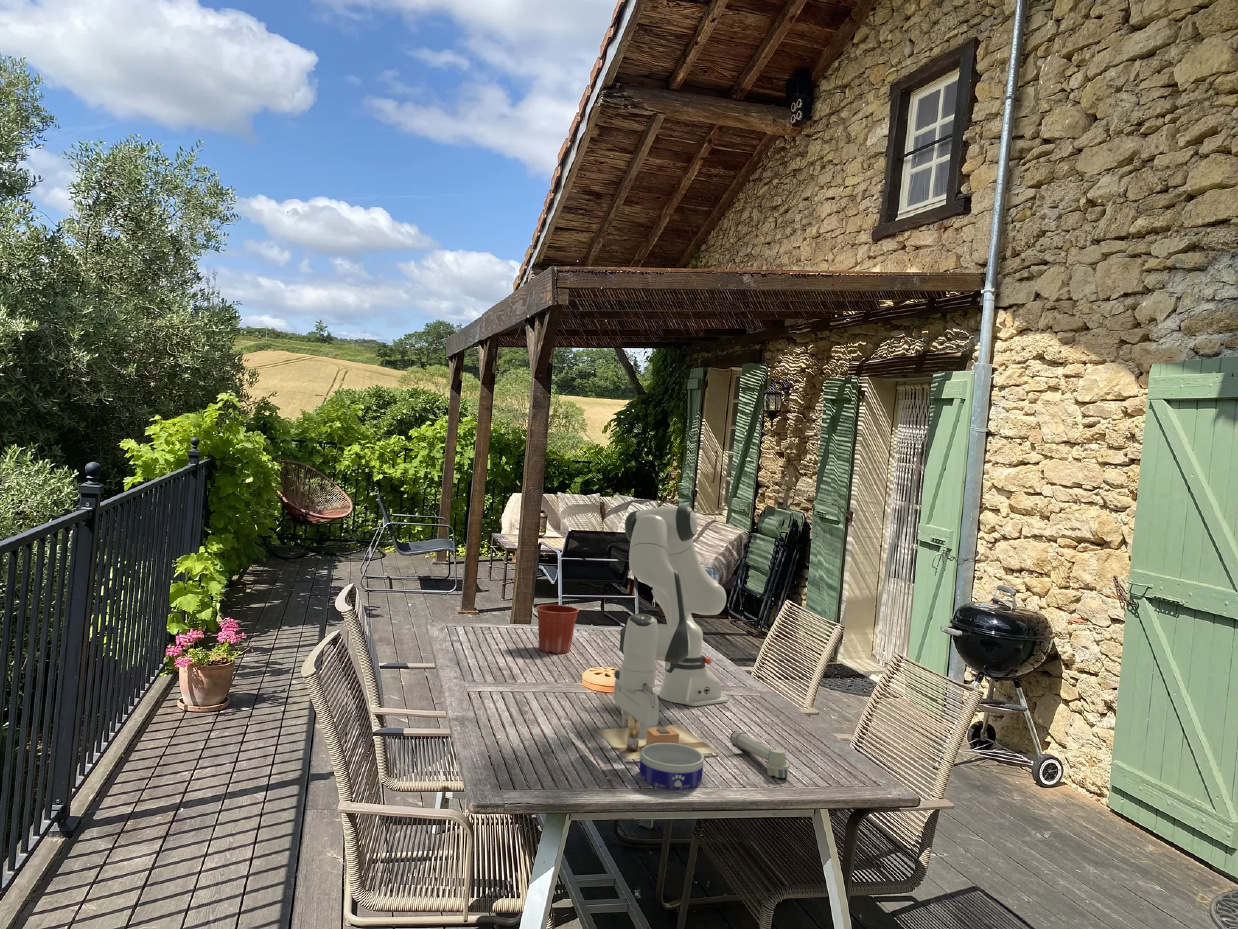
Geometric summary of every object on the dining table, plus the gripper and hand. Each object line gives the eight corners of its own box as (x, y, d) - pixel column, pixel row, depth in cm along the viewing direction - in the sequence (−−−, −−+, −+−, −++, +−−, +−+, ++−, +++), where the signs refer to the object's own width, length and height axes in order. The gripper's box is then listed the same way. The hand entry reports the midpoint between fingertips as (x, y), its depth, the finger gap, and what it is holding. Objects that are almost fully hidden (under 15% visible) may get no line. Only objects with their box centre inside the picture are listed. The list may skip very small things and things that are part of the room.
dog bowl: (655, 794, 191) (658, 767, 191) (628, 769, 205) (630, 744, 205) (713, 788, 197) (715, 762, 197) (683, 764, 211) (685, 740, 211)
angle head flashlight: (745, 729, 231) (793, 749, 207) (744, 755, 230) (793, 777, 206) (727, 730, 229) (774, 750, 205) (727, 755, 228) (774, 778, 204)
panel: (679, 729, 238) (679, 725, 238) (718, 757, 218) (718, 752, 218) (594, 734, 228) (595, 730, 228) (627, 764, 208) (627, 759, 208)
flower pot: (538, 643, 330) (541, 602, 330) (579, 647, 328) (582, 607, 328) (528, 652, 314) (531, 610, 314) (571, 657, 312) (574, 614, 312)
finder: (669, 742, 222) (671, 726, 222) (678, 749, 218) (679, 733, 218) (645, 744, 220) (647, 728, 220) (653, 751, 215) (655, 734, 215)
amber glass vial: (634, 747, 217) (637, 712, 217) (639, 751, 214) (642, 716, 214) (624, 748, 215) (627, 713, 215) (629, 752, 213) (631, 717, 213)
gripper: (667, 690, 206) (662, 745, 206) (633, 668, 225) (629, 719, 225) (643, 691, 204) (639, 747, 204) (611, 668, 222) (607, 720, 223)
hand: (633, 732), depth 215 cm, fingers open, 8 cm apart
